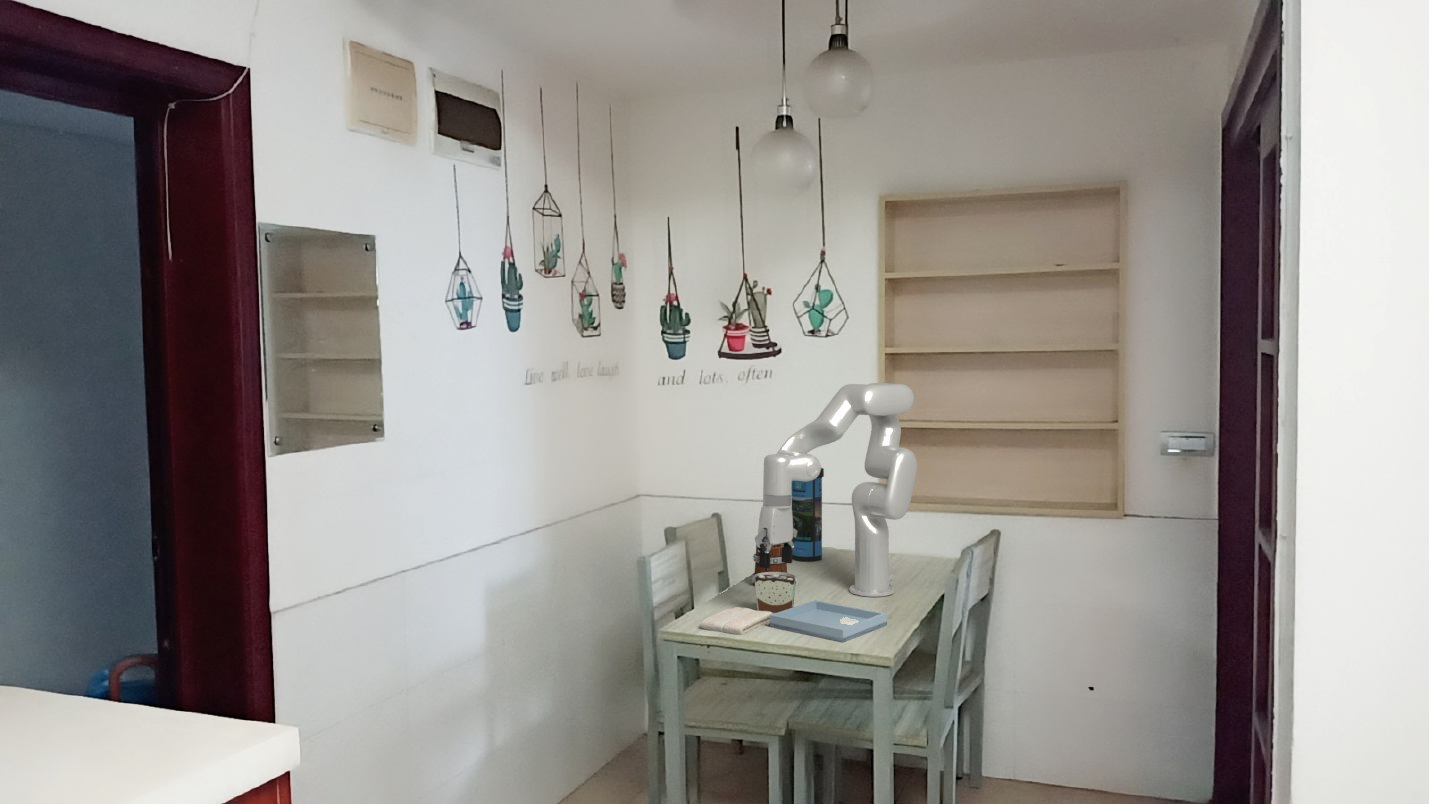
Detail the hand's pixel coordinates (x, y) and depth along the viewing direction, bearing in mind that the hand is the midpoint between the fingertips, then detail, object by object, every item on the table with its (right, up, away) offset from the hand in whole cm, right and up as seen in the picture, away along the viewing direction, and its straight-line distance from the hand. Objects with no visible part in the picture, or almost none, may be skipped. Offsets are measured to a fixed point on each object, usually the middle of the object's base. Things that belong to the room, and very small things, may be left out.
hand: (775, 565), depth 282 cm
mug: (+1, -11, +34) cm, 35 cm away
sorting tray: (+12, -13, -14) cm, 23 cm away
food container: (+1, -13, +1) cm, 13 cm away
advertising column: (+14, -9, +69) cm, 71 cm away
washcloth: (-10, -14, -12) cm, 21 cm away
